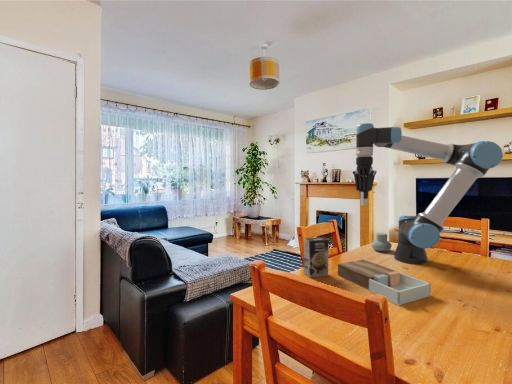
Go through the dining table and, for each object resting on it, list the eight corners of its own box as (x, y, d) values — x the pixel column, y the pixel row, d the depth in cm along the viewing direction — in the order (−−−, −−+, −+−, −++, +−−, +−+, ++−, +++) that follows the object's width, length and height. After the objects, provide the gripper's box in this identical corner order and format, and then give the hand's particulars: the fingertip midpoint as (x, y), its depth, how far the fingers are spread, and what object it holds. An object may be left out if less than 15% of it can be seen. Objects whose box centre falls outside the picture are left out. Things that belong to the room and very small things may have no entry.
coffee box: (310, 278, 118) (310, 241, 117) (303, 272, 124) (303, 237, 123) (328, 275, 120) (329, 239, 119) (321, 270, 126) (321, 236, 125)
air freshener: (379, 247, 166) (379, 231, 166) (392, 250, 160) (393, 233, 159) (369, 250, 159) (370, 233, 159) (384, 253, 153) (384, 236, 152)
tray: (398, 283, 111) (399, 272, 110) (430, 296, 99) (430, 283, 99) (368, 290, 104) (368, 279, 104) (398, 305, 92) (399, 292, 92)
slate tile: (383, 274, 106) (387, 275, 104) (383, 286, 106) (387, 288, 104) (374, 276, 104) (378, 277, 102) (373, 288, 104) (378, 290, 102)
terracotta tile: (395, 271, 109) (399, 272, 107) (395, 283, 109) (399, 285, 108) (386, 273, 107) (390, 274, 105) (386, 285, 107) (390, 287, 106)
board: (363, 270, 127) (363, 259, 127) (397, 283, 110) (397, 271, 110) (337, 275, 121) (337, 264, 120) (370, 290, 104) (370, 277, 104)
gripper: (348, 157, 136) (348, 204, 137) (369, 155, 124) (368, 207, 126) (360, 157, 139) (359, 203, 140) (381, 155, 127) (380, 206, 129)
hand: (363, 205), depth 133 cm, fingers closed
